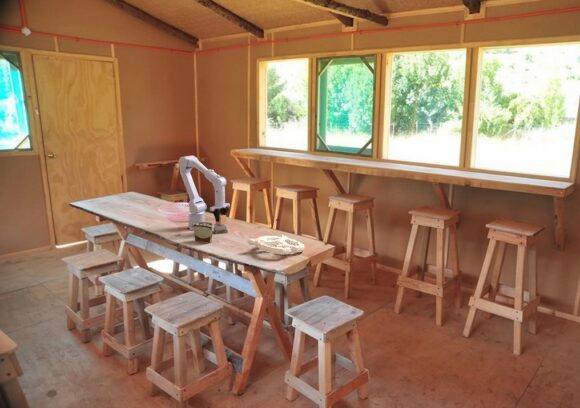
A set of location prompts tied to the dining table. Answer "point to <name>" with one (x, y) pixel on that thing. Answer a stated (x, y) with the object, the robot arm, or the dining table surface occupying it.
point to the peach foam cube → (221, 219)
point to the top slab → (220, 227)
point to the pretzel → (277, 244)
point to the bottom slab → (220, 231)
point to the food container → (203, 231)
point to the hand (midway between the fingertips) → (220, 220)
